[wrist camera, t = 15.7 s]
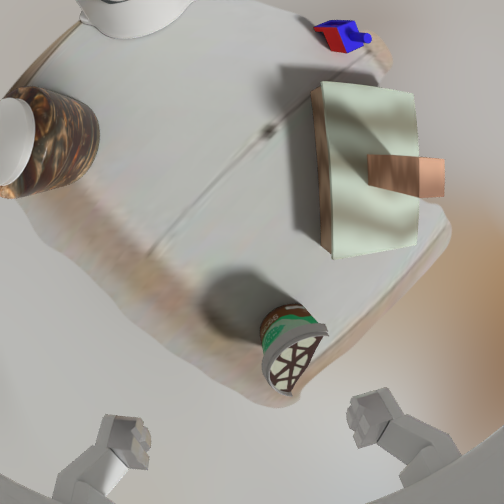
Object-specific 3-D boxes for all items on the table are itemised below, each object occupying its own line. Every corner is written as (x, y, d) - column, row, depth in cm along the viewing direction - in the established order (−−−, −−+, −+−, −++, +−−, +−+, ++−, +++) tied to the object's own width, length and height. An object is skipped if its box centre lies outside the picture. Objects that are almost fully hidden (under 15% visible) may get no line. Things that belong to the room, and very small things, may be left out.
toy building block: (323, 50, 32) (361, 56, 26) (313, 26, 29) (351, 28, 23) (340, 42, 31) (378, 48, 26) (330, 19, 28) (369, 21, 23)
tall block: (366, 154, 31) (419, 157, 22) (391, 154, 32) (444, 159, 22) (368, 185, 33) (419, 198, 23) (392, 184, 33) (444, 196, 24)
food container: (269, 286, 40) (287, 324, 31) (305, 296, 42) (331, 332, 33) (241, 351, 44) (250, 395, 34) (275, 357, 45) (290, 399, 36)
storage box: (308, 89, 32) (322, 81, 27) (393, 97, 34) (413, 93, 29) (319, 248, 40) (333, 260, 35) (398, 235, 41) (416, 245, 37)
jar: (27, 127, 27) (-40, 124, 13) (89, 87, 27) (33, 57, 13) (47, 198, 31) (-19, 223, 17) (111, 163, 31) (55, 169, 17)
